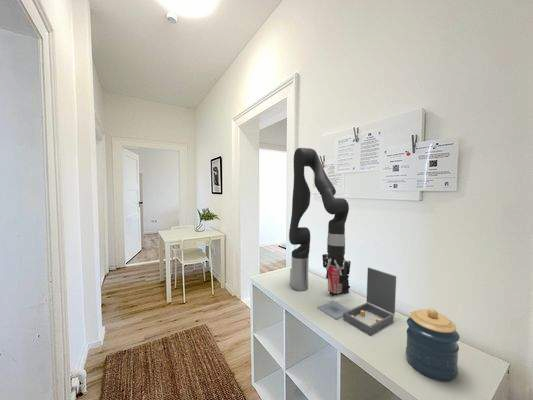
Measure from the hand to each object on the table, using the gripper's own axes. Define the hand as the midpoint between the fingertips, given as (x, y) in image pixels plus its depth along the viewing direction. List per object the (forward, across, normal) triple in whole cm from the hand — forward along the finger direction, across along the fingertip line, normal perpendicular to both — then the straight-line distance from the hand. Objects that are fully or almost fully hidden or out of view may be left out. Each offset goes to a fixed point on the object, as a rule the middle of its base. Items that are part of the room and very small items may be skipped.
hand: (335, 280), depth 100 cm
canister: (+14, +37, 0) cm, 39 cm away
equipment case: (+14, +13, +5) cm, 19 cm away
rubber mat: (+14, 0, 0) cm, 14 cm away
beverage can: (+5, 0, 0) cm, 5 cm away
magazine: (+14, -10, +14) cm, 22 cm away
